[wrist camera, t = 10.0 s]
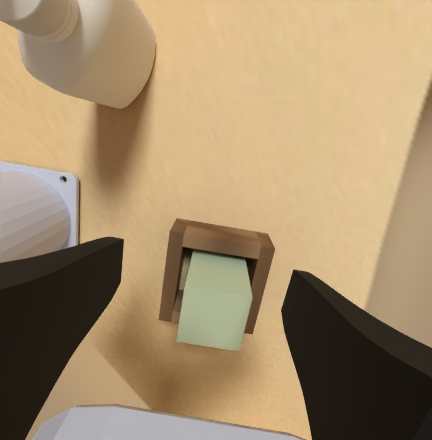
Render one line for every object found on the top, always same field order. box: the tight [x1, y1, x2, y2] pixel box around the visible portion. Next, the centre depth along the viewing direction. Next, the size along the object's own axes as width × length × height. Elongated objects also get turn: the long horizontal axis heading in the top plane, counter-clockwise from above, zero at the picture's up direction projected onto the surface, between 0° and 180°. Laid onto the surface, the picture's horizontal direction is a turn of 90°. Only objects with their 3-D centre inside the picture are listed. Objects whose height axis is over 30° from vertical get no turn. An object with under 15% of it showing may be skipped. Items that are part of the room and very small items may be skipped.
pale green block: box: [176, 249, 253, 351], centre depth 19 cm, size 4×4×7 cm
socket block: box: [159, 219, 275, 334], centre depth 21 cm, size 8×8×3 cm
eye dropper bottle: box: [0, 0, 156, 109], centre depth 12 cm, size 4×6×12 cm
